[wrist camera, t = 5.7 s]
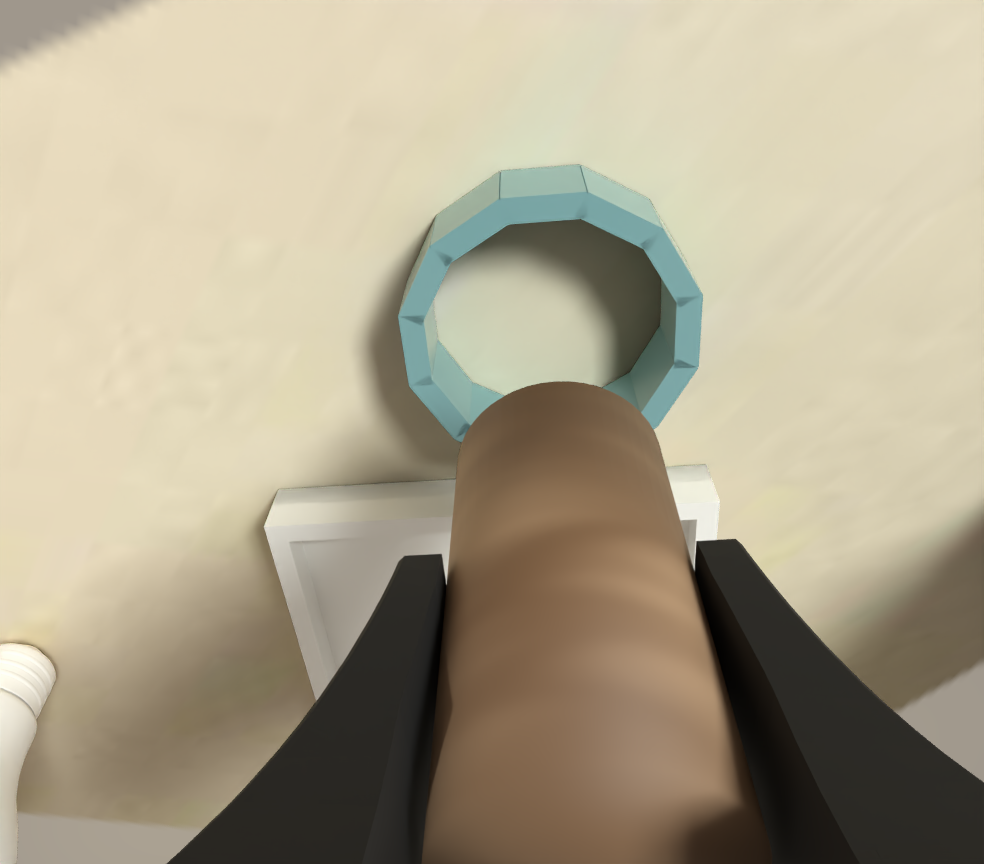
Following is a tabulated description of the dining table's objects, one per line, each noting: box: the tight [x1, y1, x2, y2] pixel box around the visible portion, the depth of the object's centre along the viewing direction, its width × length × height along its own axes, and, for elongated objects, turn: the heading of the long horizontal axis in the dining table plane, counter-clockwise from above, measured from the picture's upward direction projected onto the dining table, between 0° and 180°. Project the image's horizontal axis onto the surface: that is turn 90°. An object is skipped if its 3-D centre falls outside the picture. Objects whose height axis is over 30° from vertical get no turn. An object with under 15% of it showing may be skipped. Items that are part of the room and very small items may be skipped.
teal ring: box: [398, 165, 703, 442], centre depth 21 cm, size 7×7×2 cm
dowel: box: [422, 382, 772, 864], centre depth 13 cm, size 4×4×8 cm
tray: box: [264, 464, 720, 701], centre depth 27 cm, size 13×11×2 cm
